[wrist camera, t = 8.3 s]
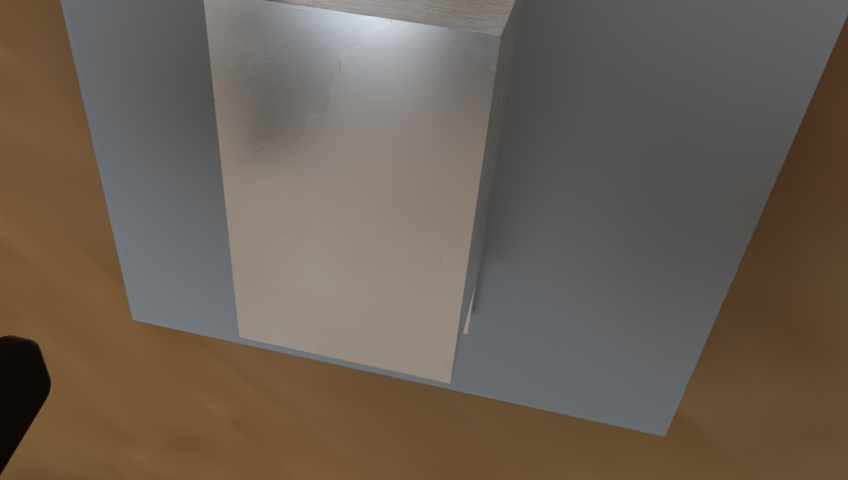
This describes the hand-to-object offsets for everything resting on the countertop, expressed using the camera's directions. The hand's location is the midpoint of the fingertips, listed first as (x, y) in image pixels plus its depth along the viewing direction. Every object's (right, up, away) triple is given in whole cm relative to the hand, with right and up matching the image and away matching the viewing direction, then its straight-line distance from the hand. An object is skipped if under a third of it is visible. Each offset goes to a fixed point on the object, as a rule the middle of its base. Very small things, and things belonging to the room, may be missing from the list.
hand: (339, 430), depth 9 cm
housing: (+1, +5, +6) cm, 8 cm away
